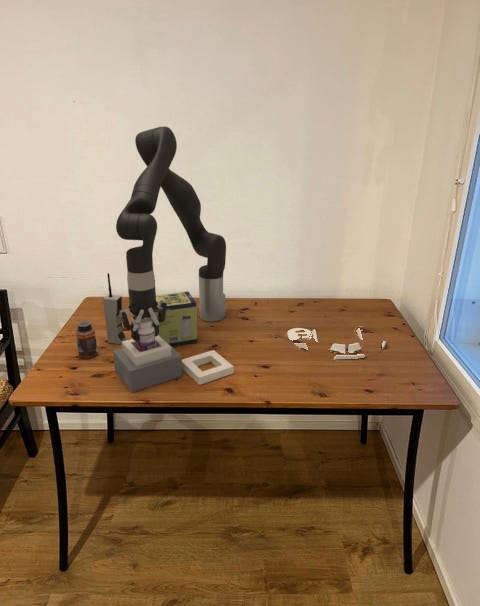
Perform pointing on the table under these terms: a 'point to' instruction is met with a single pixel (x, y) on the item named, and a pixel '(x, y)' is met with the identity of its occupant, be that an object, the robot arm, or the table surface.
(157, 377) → the grey white square block
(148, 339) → the pill bottle
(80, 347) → the supplement bottle
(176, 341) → the protein box
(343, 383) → the table surface
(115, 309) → the vintage mobile phone
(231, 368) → the collar
